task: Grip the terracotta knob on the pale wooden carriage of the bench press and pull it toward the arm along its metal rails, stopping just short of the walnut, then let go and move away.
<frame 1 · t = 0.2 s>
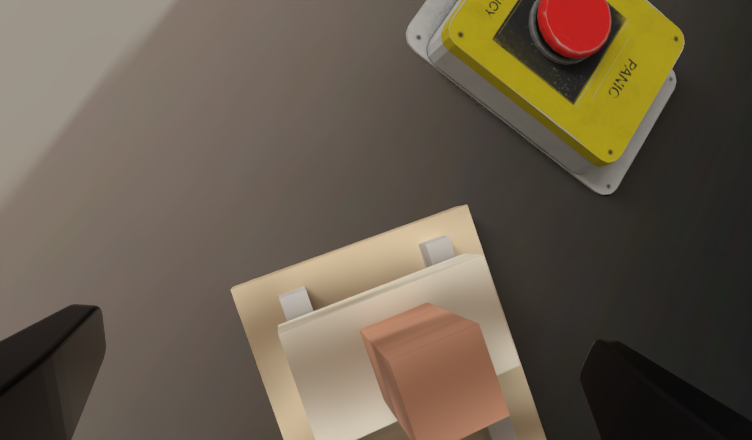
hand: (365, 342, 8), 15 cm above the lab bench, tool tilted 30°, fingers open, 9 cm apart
emergency button: (541, 64, 27), on the lab bench
slider: (416, 359, 17), point 6 cm above the lab bench, slide at 0.0 cm
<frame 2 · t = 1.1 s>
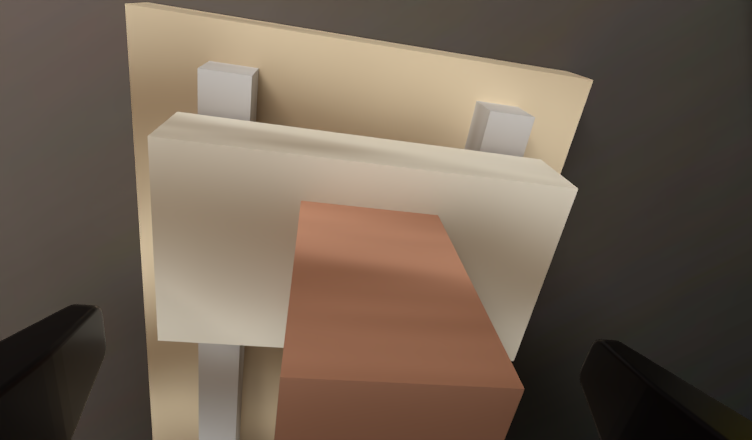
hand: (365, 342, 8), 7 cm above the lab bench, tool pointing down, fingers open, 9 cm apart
slider: (366, 307, 9), point 6 cm above the lab bench, slide at 0.0 cm
press bed: (327, 343, 18), on the lab bench
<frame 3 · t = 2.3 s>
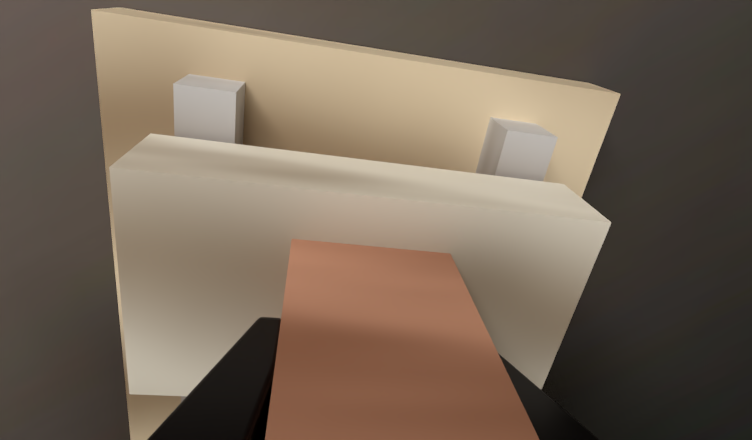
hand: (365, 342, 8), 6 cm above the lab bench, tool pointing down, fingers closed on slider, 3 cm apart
slider: (367, 365, 8), point 6 cm above the lab bench, slide at 0.0 cm, touching gripper
press bed: (324, 375, 16), on the lab bench
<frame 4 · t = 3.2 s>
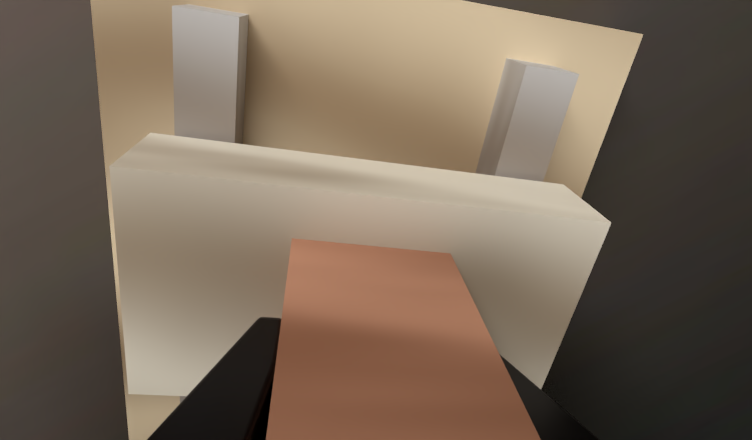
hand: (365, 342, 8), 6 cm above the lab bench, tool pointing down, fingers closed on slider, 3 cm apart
slider: (367, 365, 8), point 6 cm above the lab bench, slide at 1.4 cm, touching gripper
press bed: (328, 344, 16), on the lab bench
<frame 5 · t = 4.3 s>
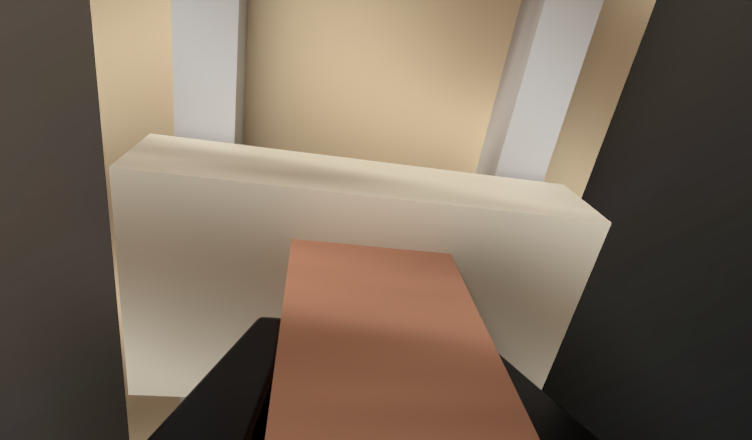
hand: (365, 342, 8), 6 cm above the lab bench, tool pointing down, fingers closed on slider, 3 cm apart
slider: (367, 366, 8), point 6 cm above the lab bench, slide at 5.9 cm, touching gripper
press bed: (346, 227, 14), on the lab bench
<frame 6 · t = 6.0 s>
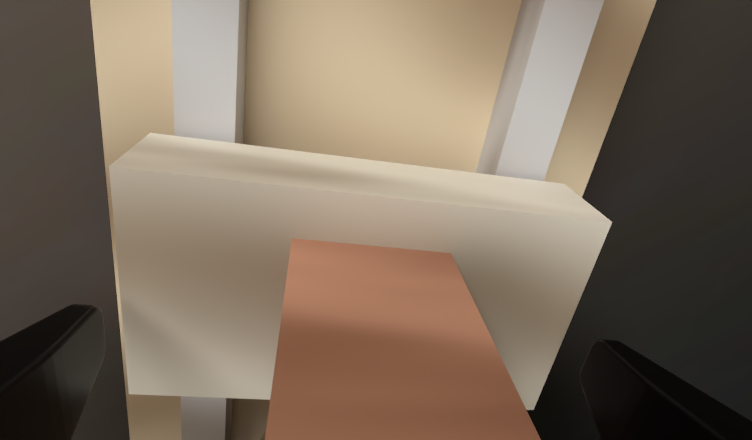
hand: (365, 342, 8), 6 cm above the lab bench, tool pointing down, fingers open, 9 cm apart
slider: (367, 365, 8), point 6 cm above the lab bench, slide at 5.9 cm
press bed: (347, 225, 14), on the lab bench
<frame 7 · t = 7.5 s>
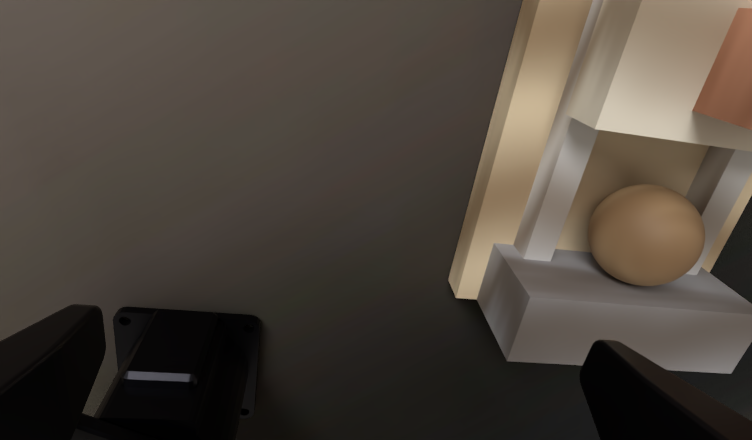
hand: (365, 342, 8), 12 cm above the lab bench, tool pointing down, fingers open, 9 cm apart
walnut: (643, 234, 18), point 4 cm above the lab bench
press bed: (649, 65, 19), on the lab bench
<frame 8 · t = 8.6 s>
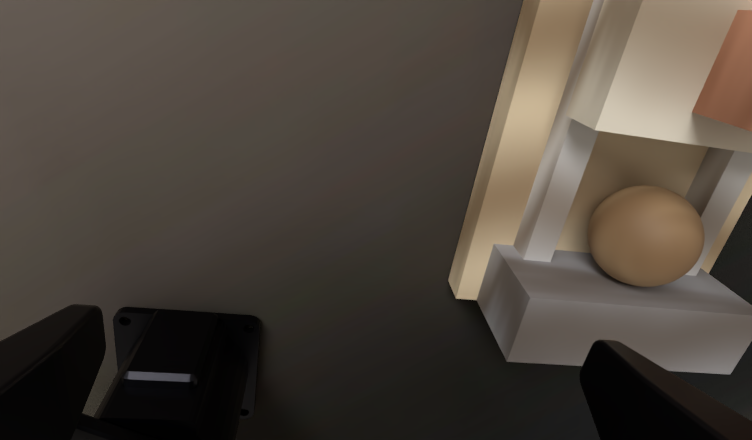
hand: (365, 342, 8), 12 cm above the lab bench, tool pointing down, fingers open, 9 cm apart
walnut: (642, 235, 18), point 4 cm above the lab bench
press bed: (649, 66, 19), on the lab bench
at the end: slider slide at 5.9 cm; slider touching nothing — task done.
